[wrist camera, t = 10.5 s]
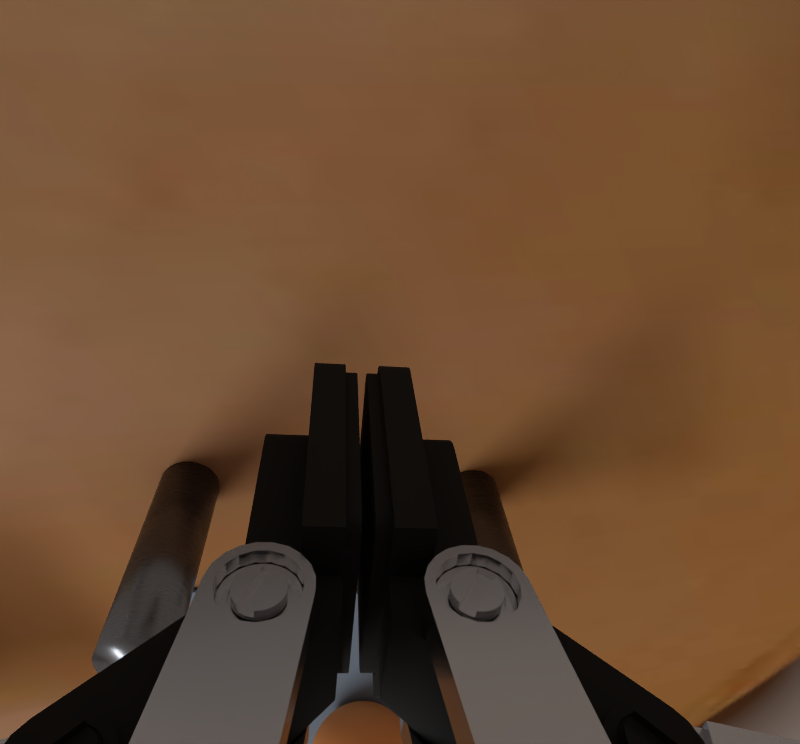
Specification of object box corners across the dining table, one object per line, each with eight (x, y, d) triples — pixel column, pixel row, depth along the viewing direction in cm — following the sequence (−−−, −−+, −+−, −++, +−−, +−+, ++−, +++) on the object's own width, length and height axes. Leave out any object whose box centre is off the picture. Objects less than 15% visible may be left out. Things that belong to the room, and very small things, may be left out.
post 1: (158, 461, 28) (86, 637, 20) (218, 463, 28) (170, 637, 20) (163, 505, 29) (98, 686, 21) (220, 506, 29) (176, 685, 22)
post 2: (447, 470, 29) (484, 636, 22) (500, 471, 30) (556, 636, 22) (439, 511, 31) (472, 682, 23) (491, 512, 31) (540, 681, 23)
